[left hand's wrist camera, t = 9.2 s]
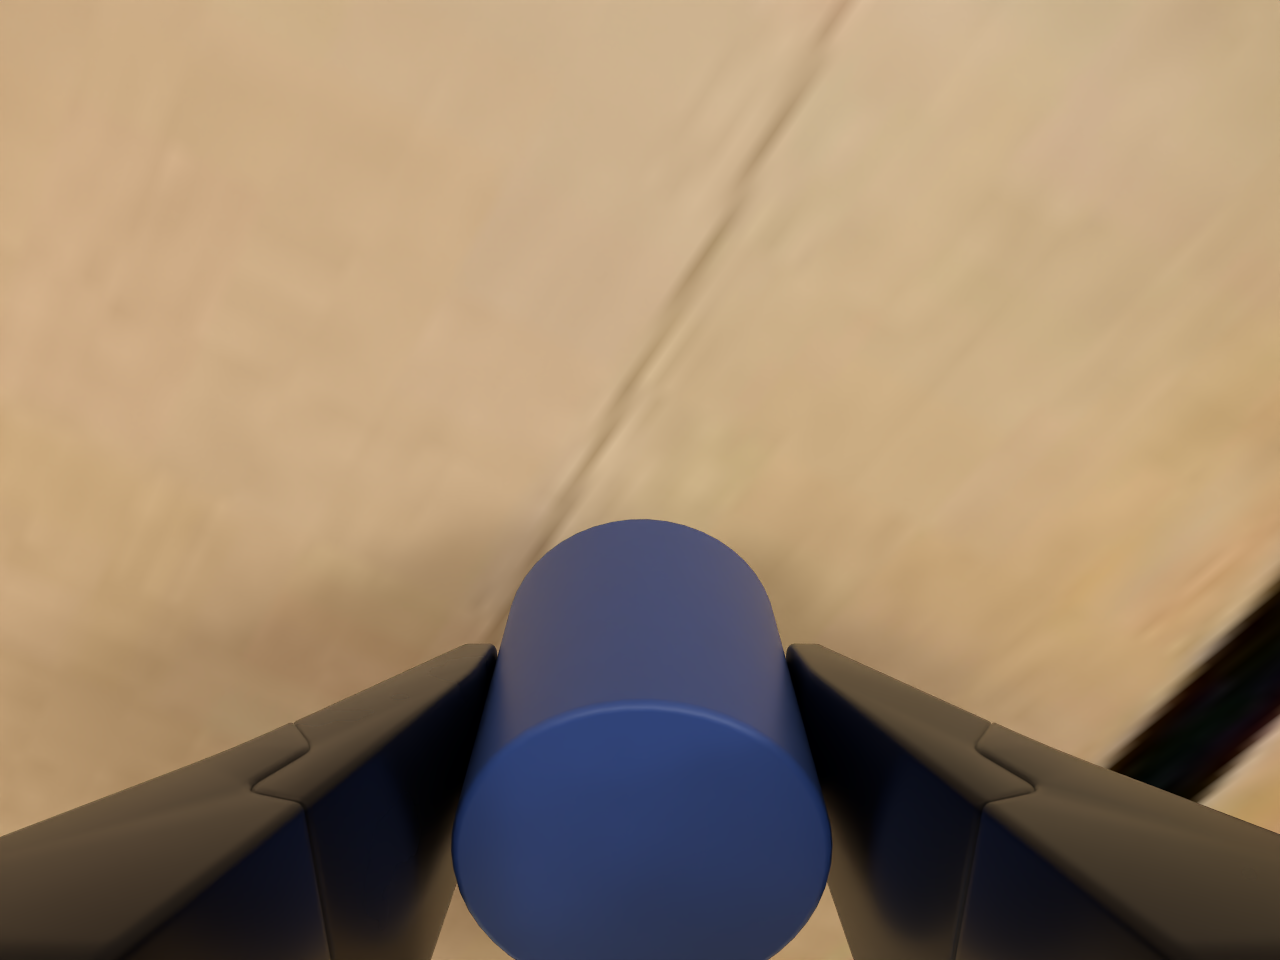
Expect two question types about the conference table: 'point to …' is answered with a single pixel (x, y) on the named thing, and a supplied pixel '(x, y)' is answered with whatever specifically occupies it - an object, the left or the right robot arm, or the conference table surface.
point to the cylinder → (641, 761)
